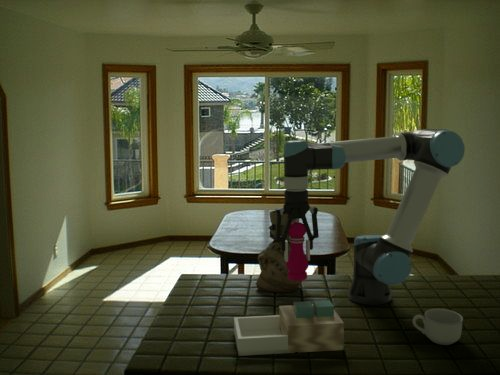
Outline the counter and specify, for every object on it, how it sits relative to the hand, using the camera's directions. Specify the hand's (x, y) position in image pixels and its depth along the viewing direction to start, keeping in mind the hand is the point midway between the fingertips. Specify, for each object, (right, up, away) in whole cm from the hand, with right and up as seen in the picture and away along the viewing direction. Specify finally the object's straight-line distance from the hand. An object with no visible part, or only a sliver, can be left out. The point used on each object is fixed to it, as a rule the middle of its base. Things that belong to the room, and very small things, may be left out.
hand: (297, 259), depth 177 cm
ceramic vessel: (-3, -16, +33) cm, 37 cm away
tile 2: (+6, -14, -15) cm, 21 cm away
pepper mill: (0, -6, +1) cm, 6 cm away
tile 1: (+1, -14, -15) cm, 21 cm away
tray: (-12, -22, -15) cm, 30 cm away
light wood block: (+3, -22, -14) cm, 26 cm away
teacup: (+40, -22, -15) cm, 48 cm away
